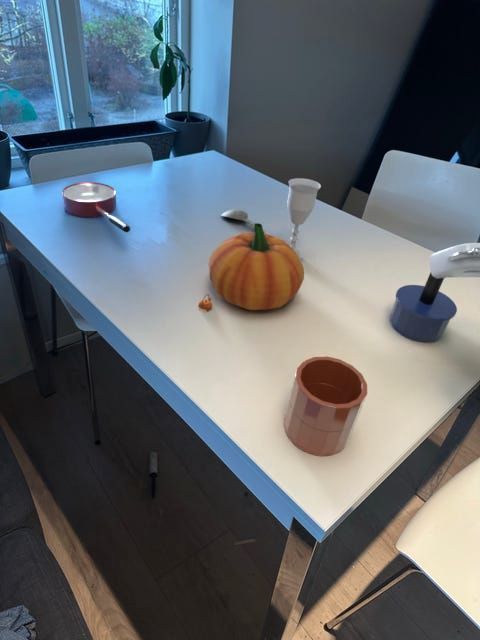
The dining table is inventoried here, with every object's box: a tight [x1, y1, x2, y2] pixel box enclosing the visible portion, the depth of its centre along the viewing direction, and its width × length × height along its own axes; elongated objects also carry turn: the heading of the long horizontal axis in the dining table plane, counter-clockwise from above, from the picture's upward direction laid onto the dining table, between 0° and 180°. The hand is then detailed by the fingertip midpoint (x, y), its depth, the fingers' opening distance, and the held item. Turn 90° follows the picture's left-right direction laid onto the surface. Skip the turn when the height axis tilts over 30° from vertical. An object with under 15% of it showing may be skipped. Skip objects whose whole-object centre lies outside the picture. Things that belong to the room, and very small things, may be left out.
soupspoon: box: [220, 208, 270, 235], centre depth 116 cm, size 22×3×7 cm
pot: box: [283, 355, 368, 457], centre depth 63 cm, size 10×10×10 cm
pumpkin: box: [208, 222, 305, 311], centre depth 89 cm, size 19×19×15 cm
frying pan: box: [61, 181, 131, 233], centre depth 110 cm, size 32×13×6 cm, turn 39°
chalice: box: [286, 177, 322, 261], centre depth 102 cm, size 7×7×18 cm
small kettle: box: [197, 293, 213, 313], centre depth 87 cm, size 3×3×3 cm
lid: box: [395, 271, 458, 321], centre depth 84 cm, size 11×11×10 cm
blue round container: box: [389, 299, 451, 343], centre depth 88 cm, size 10×10×6 cm
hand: (463, 273), depth 75 cm, fingers open, 8 cm apart
